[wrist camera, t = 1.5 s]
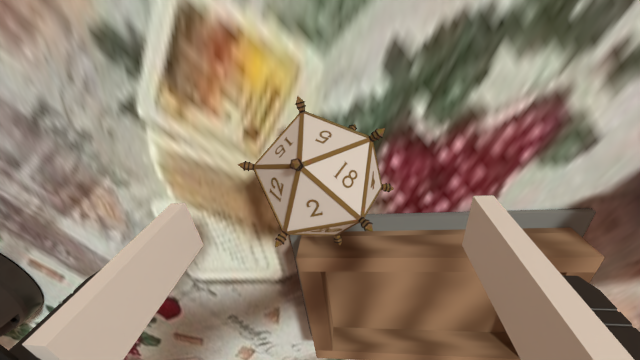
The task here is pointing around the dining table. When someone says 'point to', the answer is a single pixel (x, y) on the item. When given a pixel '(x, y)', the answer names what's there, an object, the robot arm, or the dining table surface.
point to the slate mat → (458, 220)
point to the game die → (319, 177)
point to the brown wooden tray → (414, 293)
